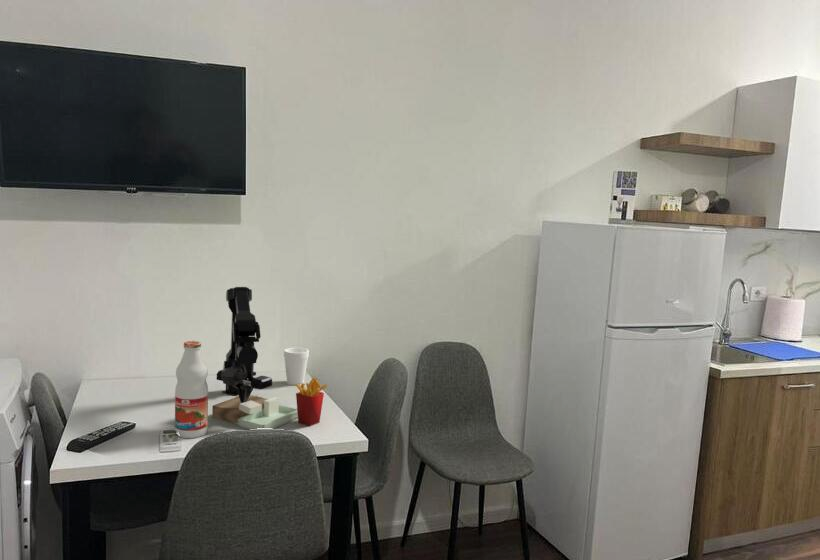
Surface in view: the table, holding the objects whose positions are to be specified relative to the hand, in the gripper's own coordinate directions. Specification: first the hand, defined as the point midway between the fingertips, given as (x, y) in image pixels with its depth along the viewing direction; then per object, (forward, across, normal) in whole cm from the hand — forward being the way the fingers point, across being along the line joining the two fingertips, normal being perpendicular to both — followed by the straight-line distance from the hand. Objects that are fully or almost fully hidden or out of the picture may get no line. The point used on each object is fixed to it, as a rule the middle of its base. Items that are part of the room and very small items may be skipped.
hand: (243, 404), depth 213 cm
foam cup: (+5, -13, +44) cm, 46 cm away
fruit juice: (+6, -4, -18) cm, 19 cm away
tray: (+5, +8, +4) cm, 10 cm away
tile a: (+2, +4, +8) cm, 9 cm away
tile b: (+1, +3, 0) cm, 3 cm away
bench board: (+5, -4, +4) cm, 7 cm away
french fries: (+5, +20, +11) cm, 23 cm away
